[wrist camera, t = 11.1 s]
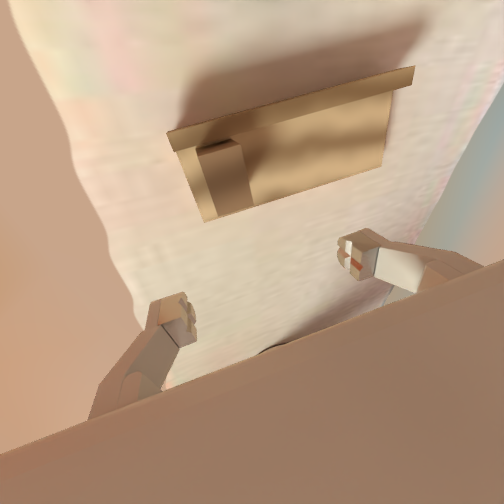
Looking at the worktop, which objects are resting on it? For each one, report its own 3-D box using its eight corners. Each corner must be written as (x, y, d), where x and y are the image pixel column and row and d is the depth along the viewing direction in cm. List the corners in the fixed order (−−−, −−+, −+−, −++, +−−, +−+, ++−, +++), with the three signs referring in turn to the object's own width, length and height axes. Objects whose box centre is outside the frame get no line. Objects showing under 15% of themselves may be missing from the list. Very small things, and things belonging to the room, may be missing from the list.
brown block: (245, 199, 27) (256, 214, 23) (215, 208, 26) (221, 225, 22) (230, 138, 23) (240, 144, 19) (195, 148, 22) (197, 156, 18)
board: (370, 163, 31) (394, 170, 28) (203, 216, 29) (205, 231, 25) (382, 72, 25) (415, 65, 21) (169, 130, 22) (166, 133, 19)
